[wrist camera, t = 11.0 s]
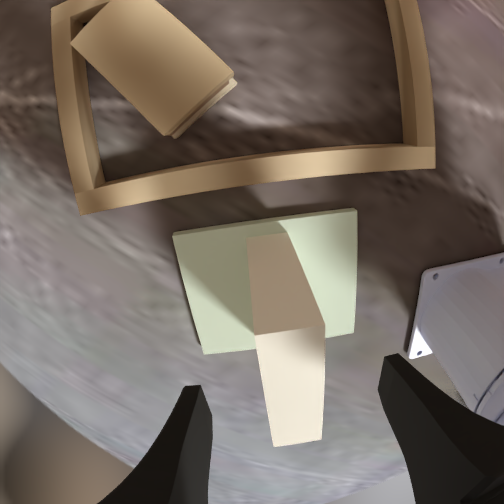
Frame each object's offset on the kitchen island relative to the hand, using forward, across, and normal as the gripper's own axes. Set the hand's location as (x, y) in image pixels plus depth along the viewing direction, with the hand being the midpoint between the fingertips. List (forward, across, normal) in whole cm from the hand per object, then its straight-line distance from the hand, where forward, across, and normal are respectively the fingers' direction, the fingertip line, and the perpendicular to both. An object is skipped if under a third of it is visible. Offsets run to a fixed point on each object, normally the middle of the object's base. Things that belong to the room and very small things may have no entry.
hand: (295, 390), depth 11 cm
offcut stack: (+8, +4, -13) cm, 16 cm away
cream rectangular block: (+8, 0, 0) cm, 8 cm away
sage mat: (+8, 0, 0) cm, 8 cm away
